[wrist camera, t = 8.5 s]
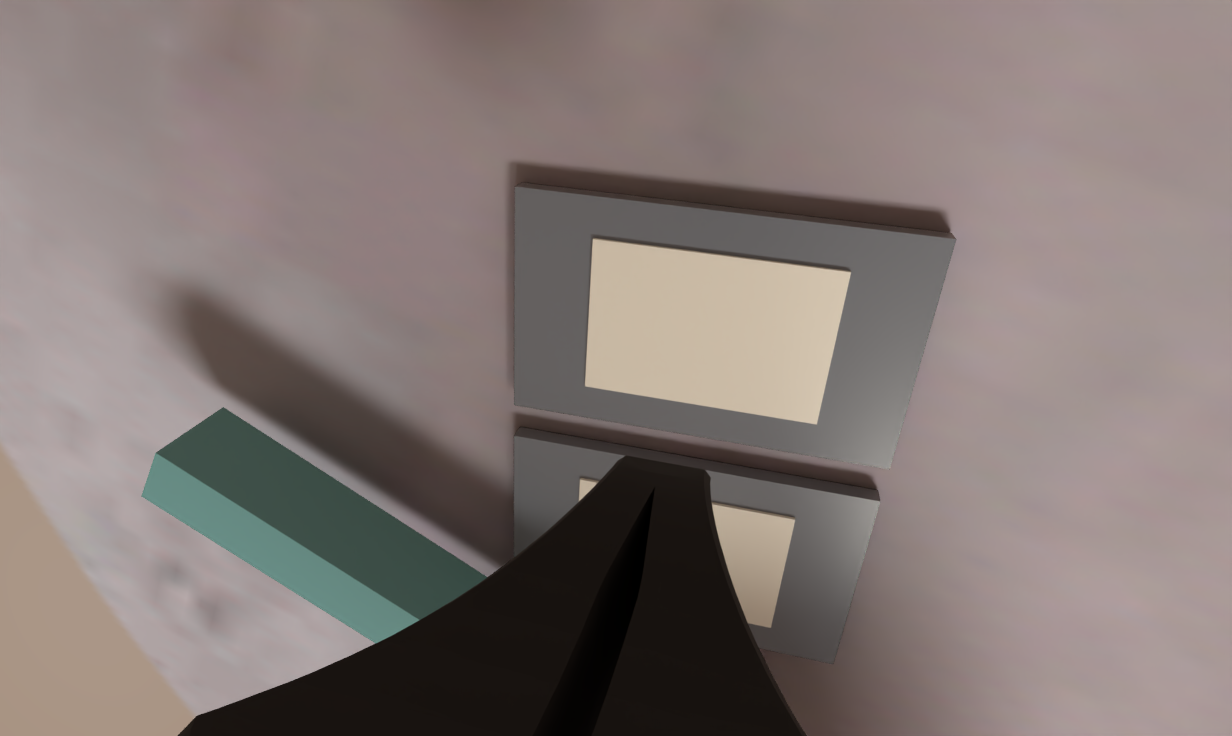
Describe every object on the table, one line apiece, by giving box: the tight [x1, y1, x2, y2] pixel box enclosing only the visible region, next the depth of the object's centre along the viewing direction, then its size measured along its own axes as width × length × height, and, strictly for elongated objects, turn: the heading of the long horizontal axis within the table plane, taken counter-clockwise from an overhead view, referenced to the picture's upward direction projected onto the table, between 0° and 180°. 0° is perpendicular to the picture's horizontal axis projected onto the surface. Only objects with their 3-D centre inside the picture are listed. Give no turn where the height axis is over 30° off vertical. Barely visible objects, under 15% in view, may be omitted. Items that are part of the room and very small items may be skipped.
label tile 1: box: [514, 183, 956, 470], centre depth 18 cm, size 6×10×1 cm, turn 86°
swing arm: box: [142, 407, 487, 643], centre depth 20 cm, size 19×4×4 cm, turn 58°
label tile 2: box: [514, 427, 880, 664], centre depth 21 cm, size 6×10×1 cm, turn 86°
